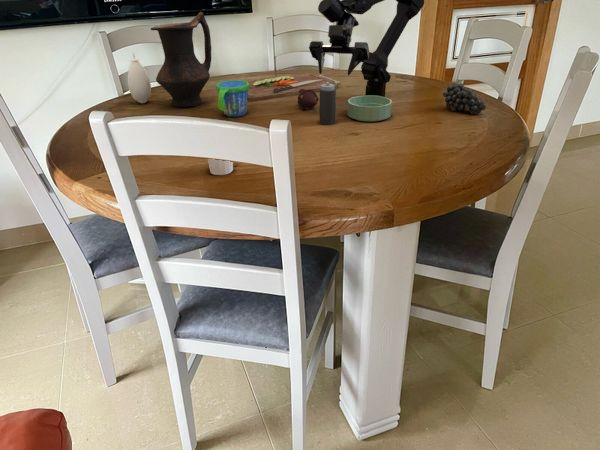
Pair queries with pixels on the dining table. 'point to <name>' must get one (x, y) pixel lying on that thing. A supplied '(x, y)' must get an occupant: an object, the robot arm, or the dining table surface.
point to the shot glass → (220, 167)
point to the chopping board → (285, 85)
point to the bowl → (369, 108)
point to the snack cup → (233, 97)
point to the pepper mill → (327, 104)
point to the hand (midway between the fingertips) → (334, 73)
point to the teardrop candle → (138, 81)
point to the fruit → (463, 99)
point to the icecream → (307, 99)
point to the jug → (183, 62)
